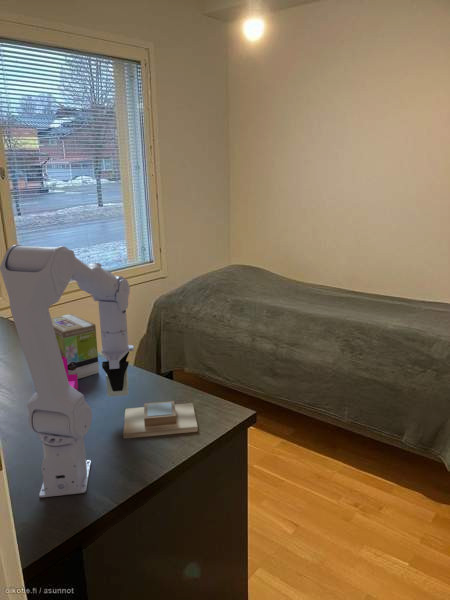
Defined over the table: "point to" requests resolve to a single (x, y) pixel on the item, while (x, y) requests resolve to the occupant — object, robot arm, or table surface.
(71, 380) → the toy block
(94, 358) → the tea box
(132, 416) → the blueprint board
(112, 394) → the sage block
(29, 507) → the table surface
